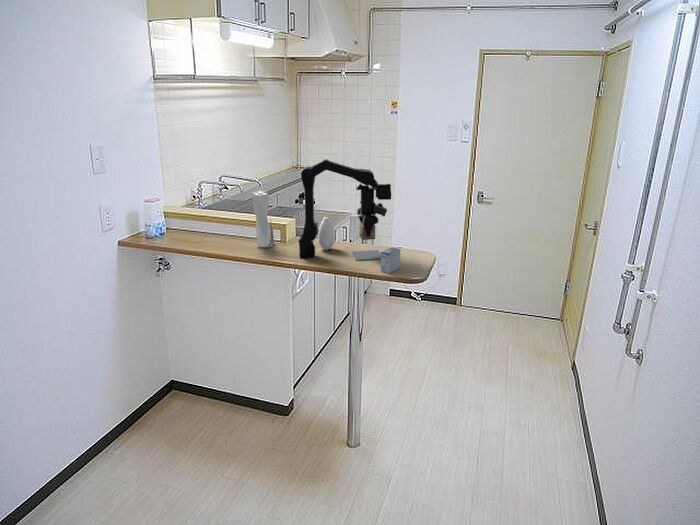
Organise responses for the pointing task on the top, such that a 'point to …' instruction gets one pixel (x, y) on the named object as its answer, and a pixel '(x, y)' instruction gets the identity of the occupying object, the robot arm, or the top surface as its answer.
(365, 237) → the cube
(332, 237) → the white elongated ovoid
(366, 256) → the mat
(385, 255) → the medicine box
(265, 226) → the skyscraper
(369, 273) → the top surface
